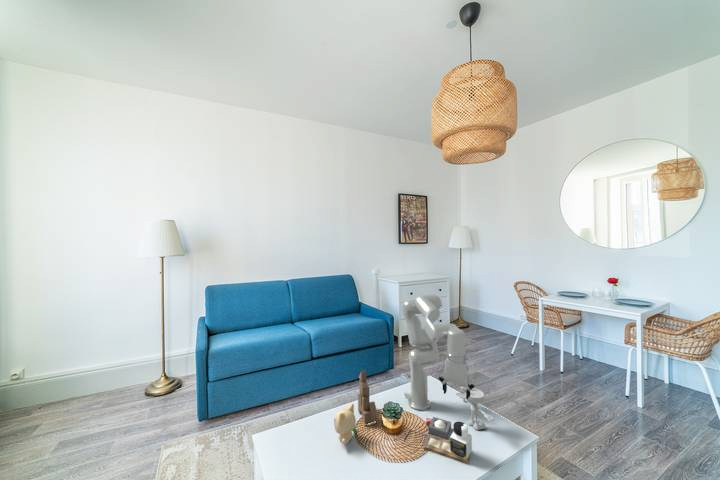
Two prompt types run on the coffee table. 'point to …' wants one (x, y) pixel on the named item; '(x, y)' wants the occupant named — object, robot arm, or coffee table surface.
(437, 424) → the dome
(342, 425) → the kitten
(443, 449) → the board
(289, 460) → the coffee table surface
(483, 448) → the coffee table surface
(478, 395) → the cartoon character
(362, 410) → the wooden toy
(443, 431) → the dome housing
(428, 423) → the red die
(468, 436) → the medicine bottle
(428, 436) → the frame
